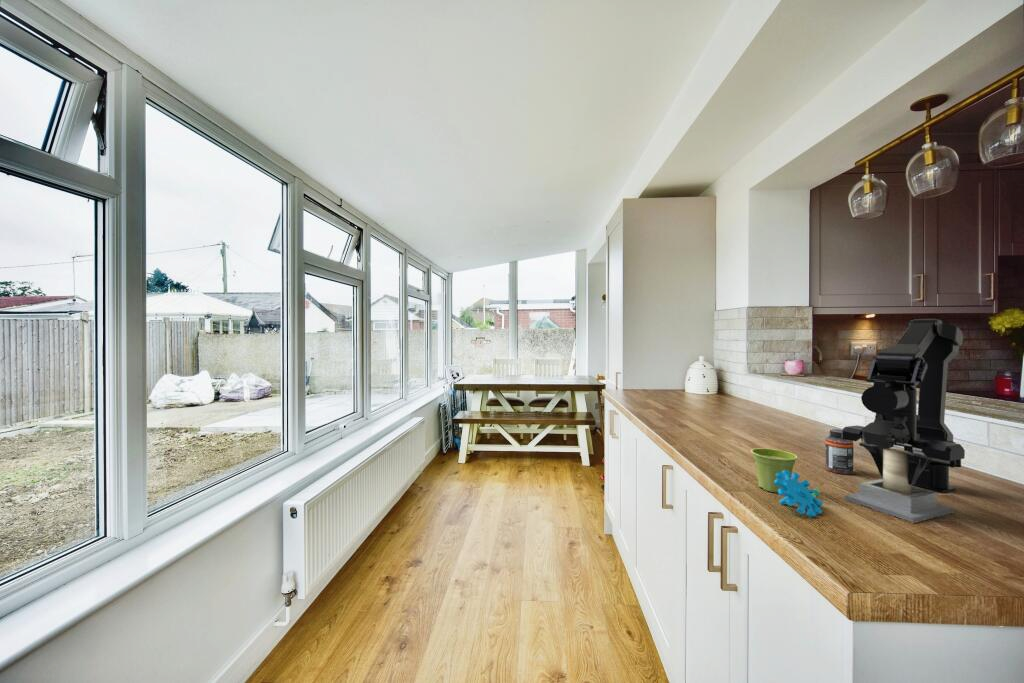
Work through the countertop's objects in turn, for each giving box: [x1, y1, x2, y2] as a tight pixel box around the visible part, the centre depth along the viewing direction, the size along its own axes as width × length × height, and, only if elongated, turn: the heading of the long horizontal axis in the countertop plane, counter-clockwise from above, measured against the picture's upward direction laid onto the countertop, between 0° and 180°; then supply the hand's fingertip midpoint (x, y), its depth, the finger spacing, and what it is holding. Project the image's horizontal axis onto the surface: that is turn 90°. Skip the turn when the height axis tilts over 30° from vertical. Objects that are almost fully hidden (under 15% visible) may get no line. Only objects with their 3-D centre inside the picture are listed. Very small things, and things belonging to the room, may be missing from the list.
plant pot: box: [750, 447, 798, 494], centre depth 95 cm, size 9×9×9 cm
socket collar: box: [858, 478, 938, 513], centre depth 86 cm, size 9×9×3 cm
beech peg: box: [882, 448, 912, 495], centre depth 86 cm, size 4×4×9 cm
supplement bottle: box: [824, 428, 854, 475], centre depth 108 cm, size 6×6×11 cm
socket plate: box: [843, 491, 954, 523], centre depth 86 cm, size 14×12×1 cm
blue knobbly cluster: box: [774, 470, 823, 518], centre depth 85 cm, size 11×6×10 cm
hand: (896, 480), depth 86 cm, fingers closed on beech peg, 4 cm apart
